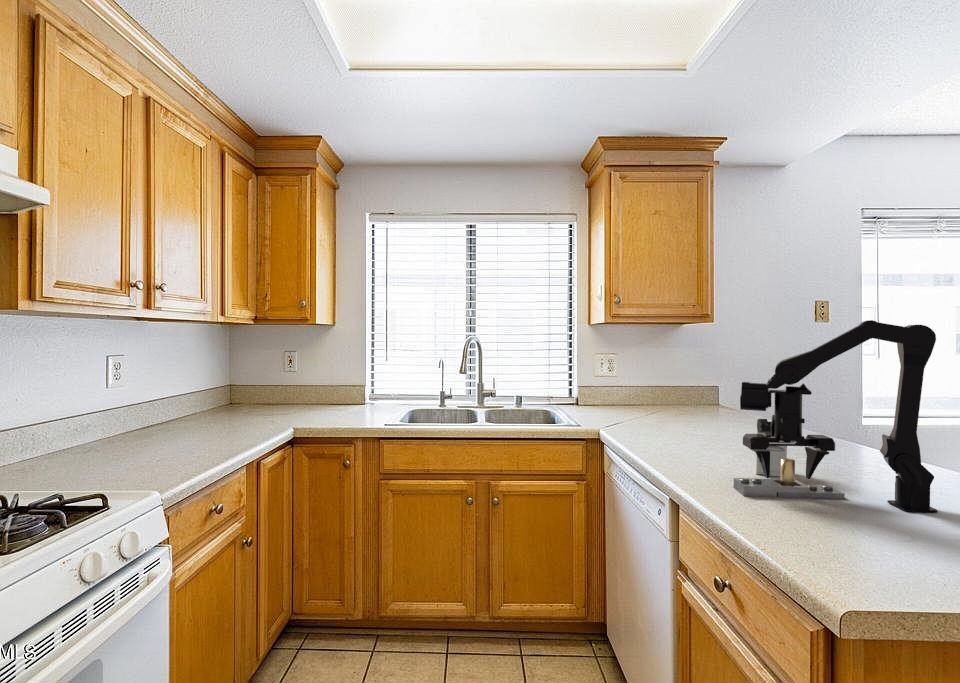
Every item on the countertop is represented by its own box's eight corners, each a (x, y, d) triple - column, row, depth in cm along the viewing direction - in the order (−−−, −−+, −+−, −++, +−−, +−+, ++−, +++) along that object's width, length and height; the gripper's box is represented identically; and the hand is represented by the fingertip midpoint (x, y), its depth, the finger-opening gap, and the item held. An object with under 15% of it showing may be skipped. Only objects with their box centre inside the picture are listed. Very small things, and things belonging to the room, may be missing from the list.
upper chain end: (809, 497, 129) (810, 484, 129) (744, 496, 131) (744, 483, 131) (795, 489, 136) (796, 476, 136) (733, 487, 138) (733, 475, 138)
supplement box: (755, 474, 150) (755, 427, 150) (756, 468, 157) (756, 423, 156) (787, 478, 147) (787, 429, 146) (786, 471, 153) (787, 425, 153)
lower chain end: (844, 498, 129) (844, 491, 129) (778, 497, 130) (778, 489, 130) (828, 490, 136) (828, 482, 136) (765, 488, 137) (765, 481, 137)
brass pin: (796, 495, 132) (797, 461, 131) (783, 494, 132) (783, 460, 132) (791, 491, 135) (791, 458, 134) (778, 491, 135) (778, 458, 135)
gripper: (813, 408, 140) (812, 470, 140) (734, 407, 142) (734, 469, 142) (837, 415, 129) (836, 482, 129) (751, 414, 131) (751, 481, 131)
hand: (787, 478), depth 133 cm, fingers open, 9 cm apart
